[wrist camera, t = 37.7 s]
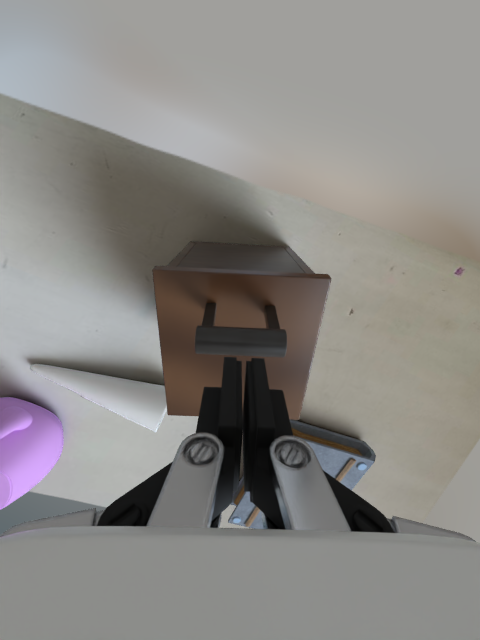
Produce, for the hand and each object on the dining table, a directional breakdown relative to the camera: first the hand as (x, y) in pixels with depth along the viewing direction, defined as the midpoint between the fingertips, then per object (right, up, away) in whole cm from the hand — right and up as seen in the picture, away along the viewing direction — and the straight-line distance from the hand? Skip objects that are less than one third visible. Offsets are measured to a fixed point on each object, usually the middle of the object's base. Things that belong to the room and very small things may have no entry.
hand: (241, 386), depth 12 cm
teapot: (-32, -13, +32) cm, 47 cm away
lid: (0, 0, +10) cm, 10 cm away
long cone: (-19, -5, +29) cm, 35 cm away
